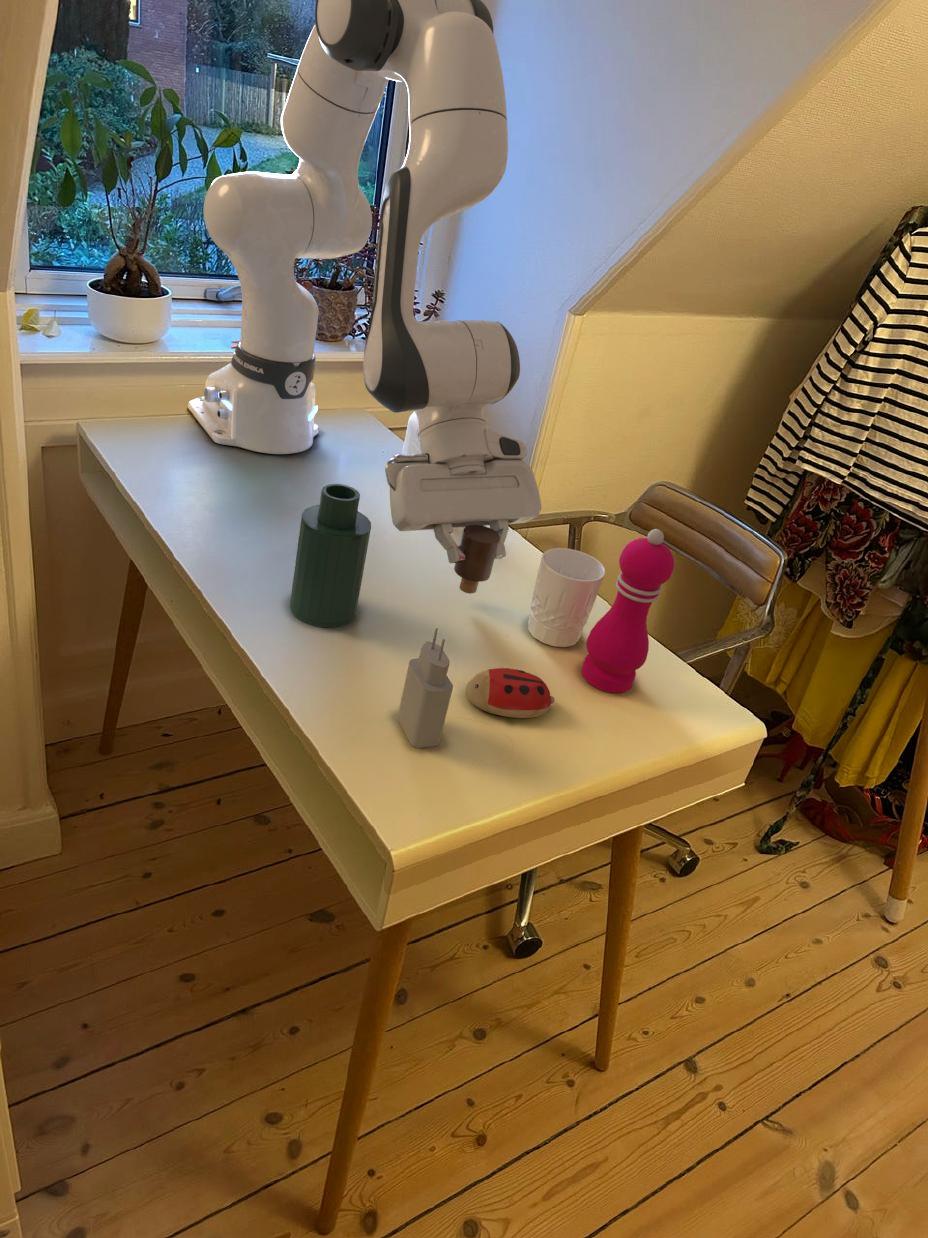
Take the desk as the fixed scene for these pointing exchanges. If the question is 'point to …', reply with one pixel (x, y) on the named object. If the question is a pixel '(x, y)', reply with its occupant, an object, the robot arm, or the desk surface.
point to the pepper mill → (628, 615)
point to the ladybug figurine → (509, 693)
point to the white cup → (564, 596)
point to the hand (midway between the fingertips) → (478, 560)
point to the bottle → (330, 559)
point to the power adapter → (426, 696)
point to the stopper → (476, 556)
